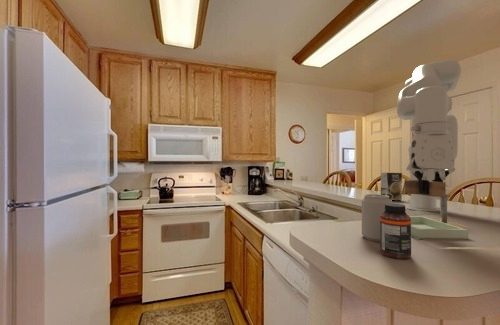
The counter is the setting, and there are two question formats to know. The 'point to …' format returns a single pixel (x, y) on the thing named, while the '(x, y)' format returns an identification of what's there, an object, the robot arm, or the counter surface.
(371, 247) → the counter surface
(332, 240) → the counter surface
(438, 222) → the tray
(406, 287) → the counter surface
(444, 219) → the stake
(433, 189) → the brown wooden block
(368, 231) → the can
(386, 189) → the coffee box
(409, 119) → the robot arm
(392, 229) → the supplement bottle
